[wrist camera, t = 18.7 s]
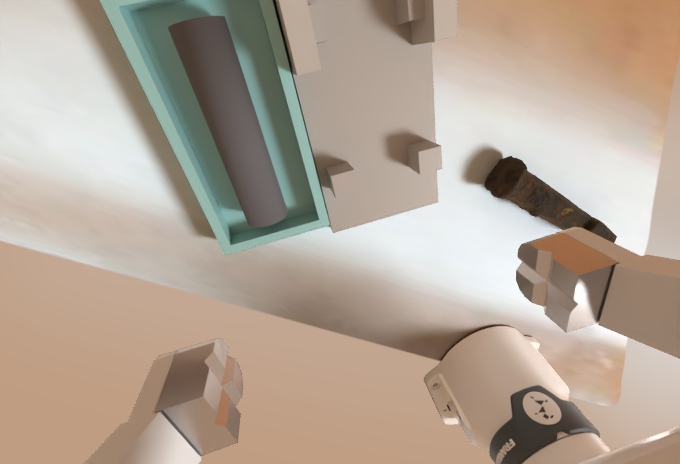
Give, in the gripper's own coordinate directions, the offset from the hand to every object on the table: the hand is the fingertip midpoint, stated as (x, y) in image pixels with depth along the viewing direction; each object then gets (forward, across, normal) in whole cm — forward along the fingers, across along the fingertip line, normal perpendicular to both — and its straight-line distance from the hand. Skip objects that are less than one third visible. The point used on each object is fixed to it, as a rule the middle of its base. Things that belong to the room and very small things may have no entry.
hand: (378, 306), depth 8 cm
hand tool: (+22, -25, +13) cm, 36 cm away
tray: (+21, +5, -3) cm, 21 cm away
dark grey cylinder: (+20, +4, -3) cm, 21 cm away
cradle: (+21, -6, -3) cm, 22 cm away
